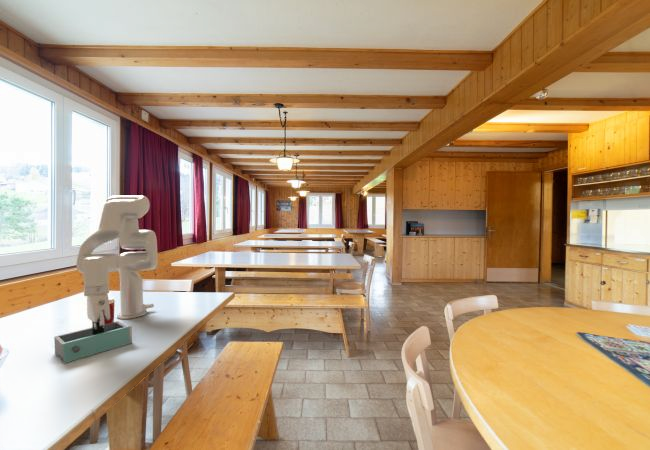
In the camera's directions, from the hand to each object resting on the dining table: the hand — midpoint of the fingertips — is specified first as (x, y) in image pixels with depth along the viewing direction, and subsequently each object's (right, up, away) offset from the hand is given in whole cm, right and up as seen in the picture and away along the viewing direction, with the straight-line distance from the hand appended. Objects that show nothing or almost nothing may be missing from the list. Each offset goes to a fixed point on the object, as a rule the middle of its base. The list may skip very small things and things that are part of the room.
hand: (98, 338), depth 114 cm
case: (-3, -4, +1) cm, 5 cm away
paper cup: (-9, -4, +17) cm, 19 cm away
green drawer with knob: (+4, -4, -4) cm, 6 cm away
